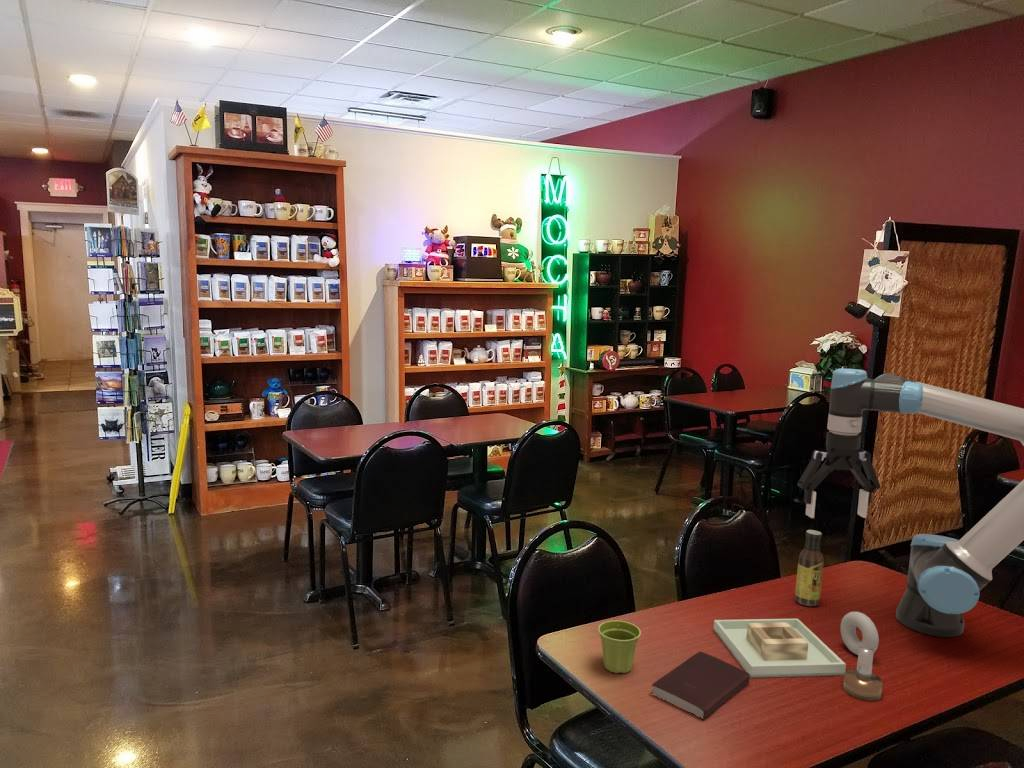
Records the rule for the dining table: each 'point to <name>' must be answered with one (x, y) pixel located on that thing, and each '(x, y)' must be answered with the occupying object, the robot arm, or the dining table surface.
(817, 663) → the sage tray
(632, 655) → the plant pot
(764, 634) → the wooden square frame
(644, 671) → the dining table surface
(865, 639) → the donut
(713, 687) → the book
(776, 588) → the dining table surface
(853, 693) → the cylinder
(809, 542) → the sauce bottle
